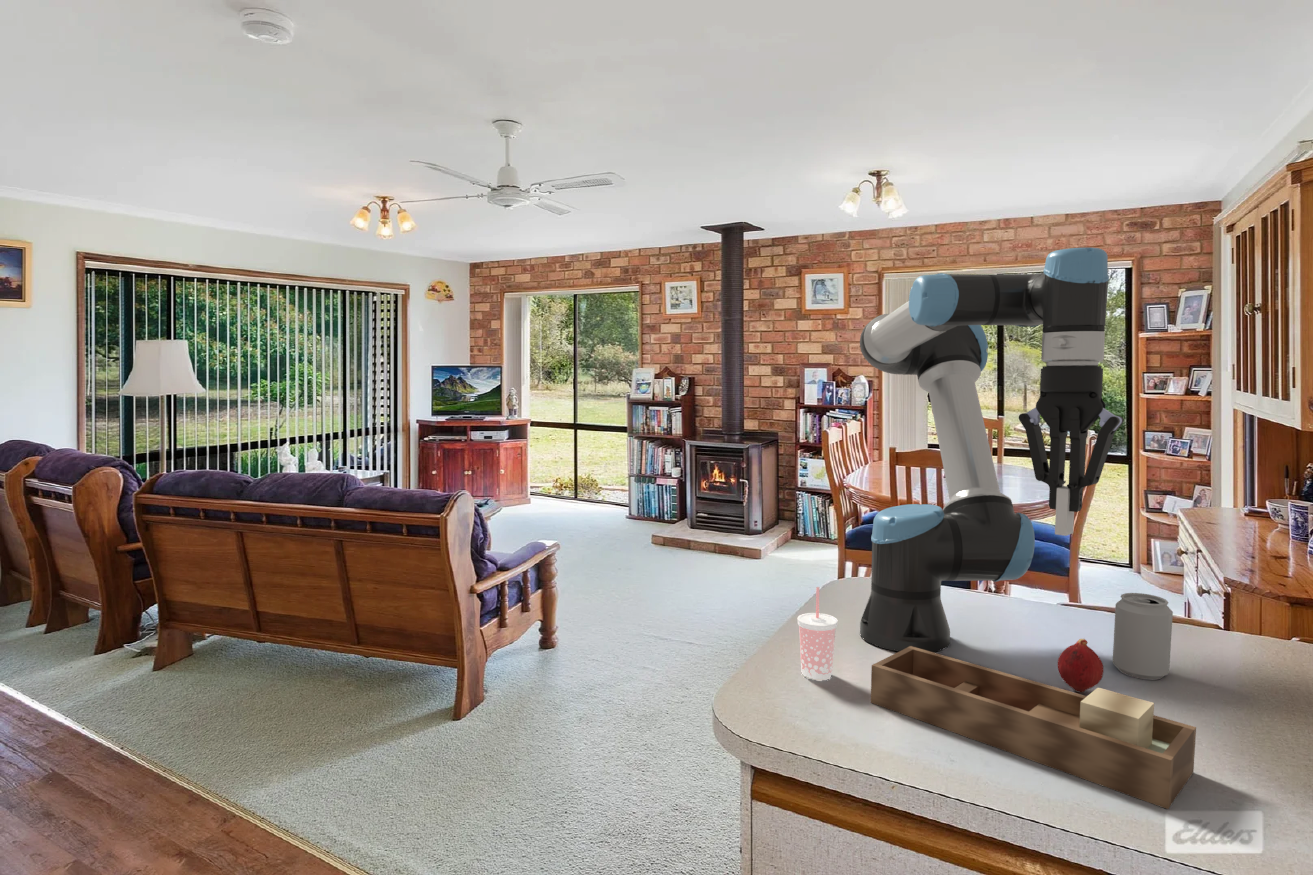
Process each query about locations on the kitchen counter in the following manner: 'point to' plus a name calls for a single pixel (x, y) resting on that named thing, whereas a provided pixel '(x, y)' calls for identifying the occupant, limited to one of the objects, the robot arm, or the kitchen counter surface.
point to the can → (1142, 636)
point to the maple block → (1118, 717)
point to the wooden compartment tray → (1032, 723)
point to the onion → (1080, 666)
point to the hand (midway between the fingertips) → (1064, 533)
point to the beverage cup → (817, 642)
